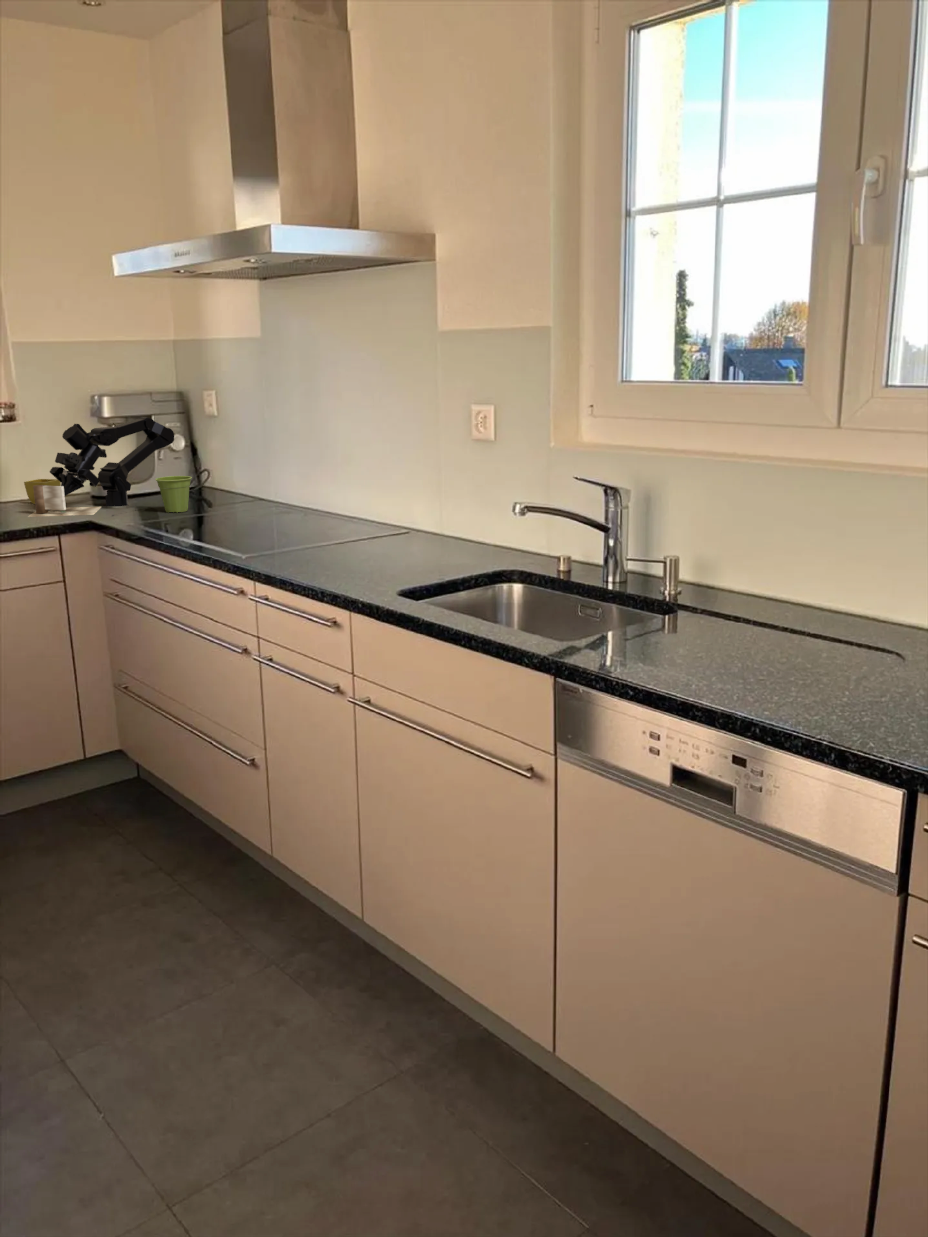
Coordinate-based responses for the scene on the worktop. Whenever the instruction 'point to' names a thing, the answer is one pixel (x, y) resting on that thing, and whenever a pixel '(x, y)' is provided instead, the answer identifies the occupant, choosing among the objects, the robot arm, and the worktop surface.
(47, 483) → the flower pot
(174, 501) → the plant pot
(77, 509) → the board
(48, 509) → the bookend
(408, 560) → the worktop surface
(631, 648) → the worktop surface
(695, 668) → the worktop surface
